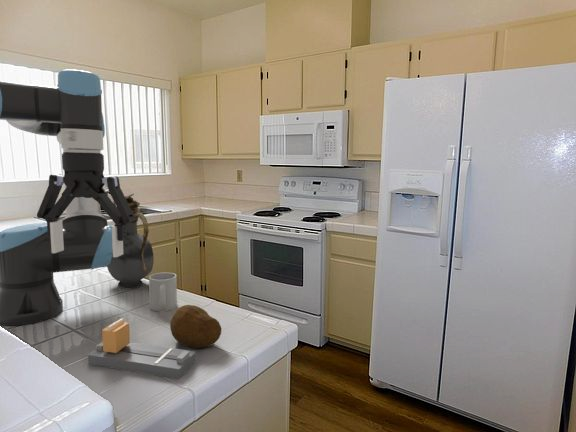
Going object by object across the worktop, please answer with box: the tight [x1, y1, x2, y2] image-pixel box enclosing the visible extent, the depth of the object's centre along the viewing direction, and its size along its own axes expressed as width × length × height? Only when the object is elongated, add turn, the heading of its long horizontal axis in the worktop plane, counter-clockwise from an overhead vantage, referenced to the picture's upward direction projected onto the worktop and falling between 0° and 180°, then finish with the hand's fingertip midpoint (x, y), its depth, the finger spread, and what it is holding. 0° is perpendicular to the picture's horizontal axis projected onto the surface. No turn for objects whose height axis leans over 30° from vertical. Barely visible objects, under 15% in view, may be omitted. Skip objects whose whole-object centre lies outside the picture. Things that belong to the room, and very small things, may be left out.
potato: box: [169, 304, 222, 349], centre depth 86 cm, size 8×12×9 cm
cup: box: [148, 272, 178, 312], centre depth 106 cm, size 7×10×9 cm
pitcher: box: [106, 193, 155, 289], centre depth 122 cm, size 11×19×30 cm, turn 49°
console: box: [87, 341, 197, 380], centre depth 78 cm, size 20×7×3 cm, turn 77°
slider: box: [101, 318, 131, 353], centre depth 79 cm, size 3×4×5 cm
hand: (87, 253), depth 81 cm, fingers open, 13 cm apart
